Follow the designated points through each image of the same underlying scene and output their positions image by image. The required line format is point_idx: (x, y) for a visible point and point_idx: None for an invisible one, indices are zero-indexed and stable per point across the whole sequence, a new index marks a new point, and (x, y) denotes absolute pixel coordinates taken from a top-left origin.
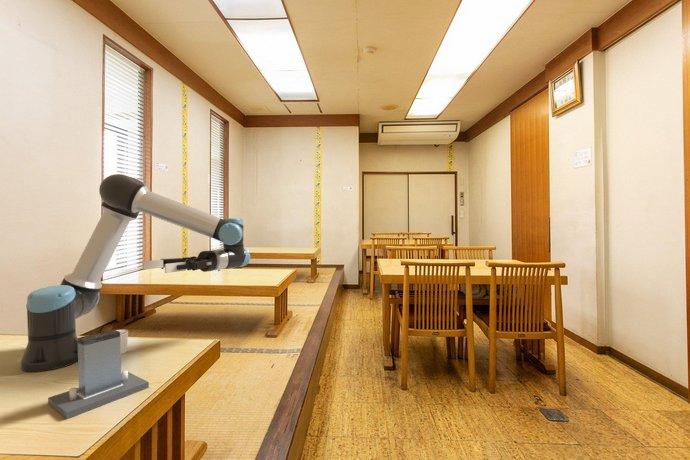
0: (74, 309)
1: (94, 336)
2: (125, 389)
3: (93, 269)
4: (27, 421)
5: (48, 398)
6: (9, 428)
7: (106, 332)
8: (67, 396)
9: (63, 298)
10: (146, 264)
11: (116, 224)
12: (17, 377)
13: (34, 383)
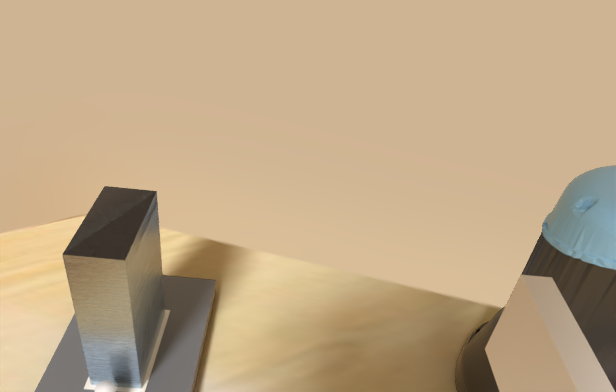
0: (609, 316)
1: (114, 209)
2: (51, 377)
3: None
4: (173, 252)
5: (213, 280)
6: (177, 235)
7: (113, 237)
8: (177, 297)
9: (580, 225)
10: (516, 333)
11: None
12: (459, 314)
13: (377, 317)
